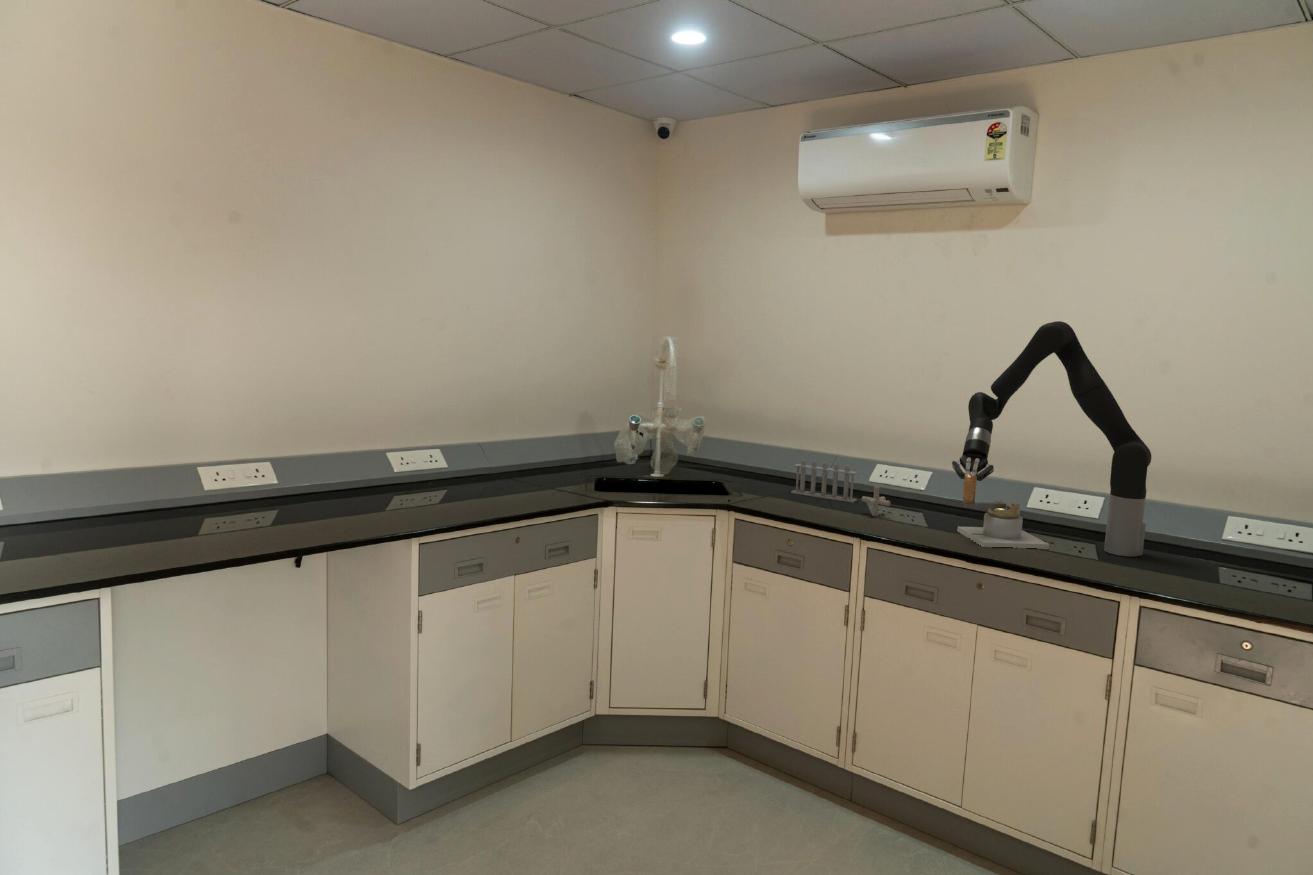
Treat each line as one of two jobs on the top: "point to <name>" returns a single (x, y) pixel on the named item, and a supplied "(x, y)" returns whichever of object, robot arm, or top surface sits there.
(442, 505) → the top surface
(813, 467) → the test tube rack
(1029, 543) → the cylinder on square plate
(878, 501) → the pipe connector
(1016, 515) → the lever-handled chuck
